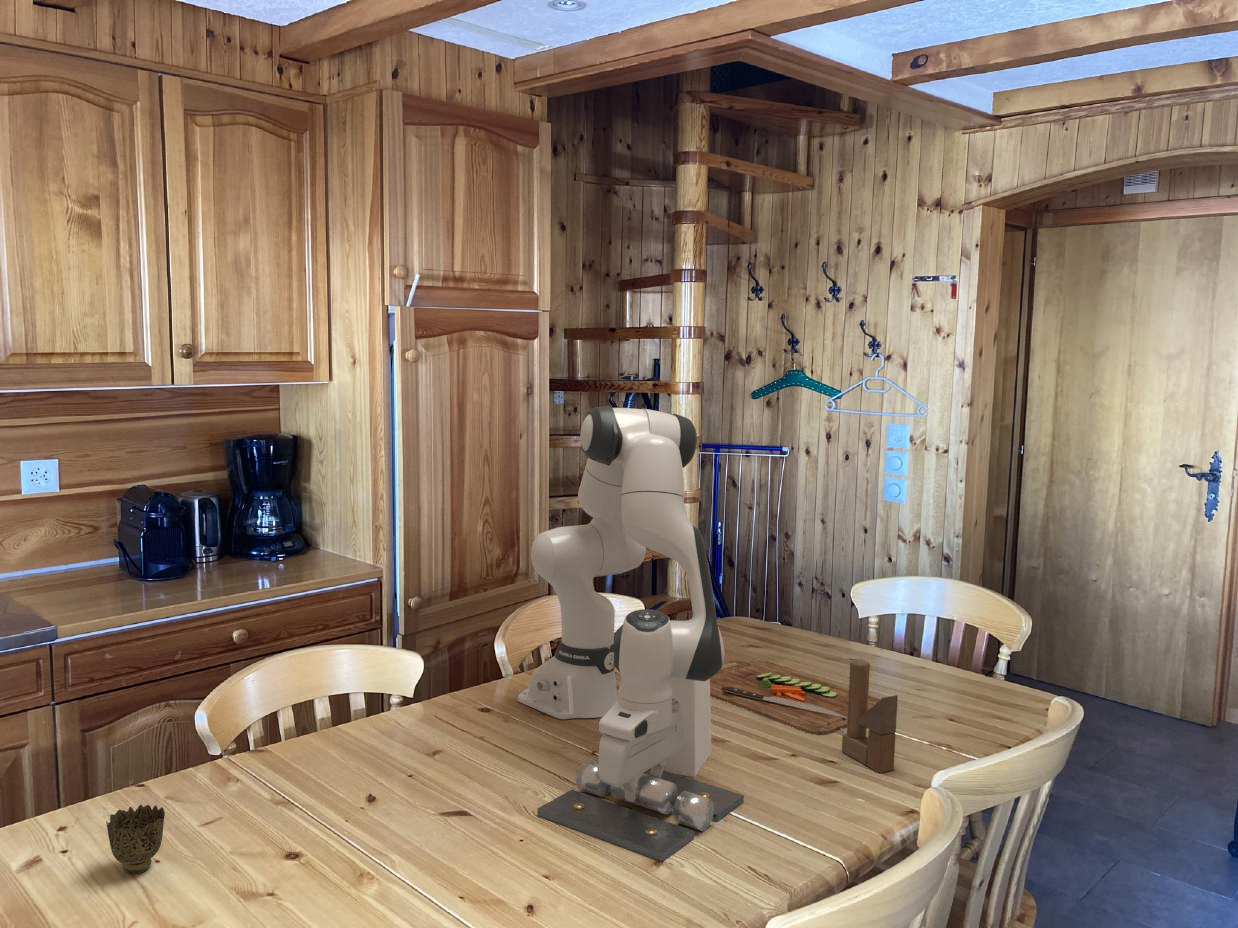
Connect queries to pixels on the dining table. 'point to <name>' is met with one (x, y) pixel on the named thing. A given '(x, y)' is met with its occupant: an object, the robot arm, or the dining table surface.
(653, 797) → the knuckle
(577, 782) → the hinge base
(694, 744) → the milk
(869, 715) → the wooden block
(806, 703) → the chopping board
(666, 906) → the dining table surface
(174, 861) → the dining table surface
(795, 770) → the dining table surface
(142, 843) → the cup
